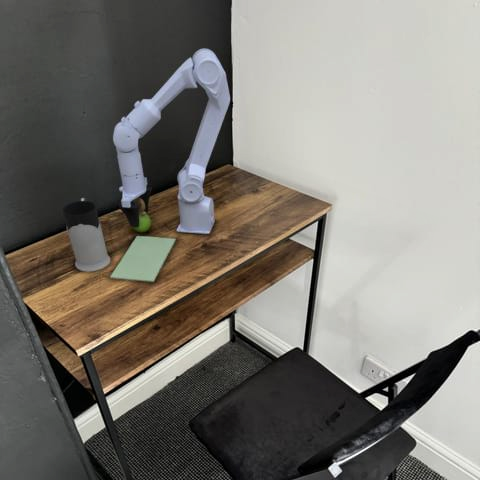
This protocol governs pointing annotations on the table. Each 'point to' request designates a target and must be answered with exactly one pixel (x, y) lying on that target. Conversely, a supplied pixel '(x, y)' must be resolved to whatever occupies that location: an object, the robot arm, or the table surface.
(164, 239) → the desk pad
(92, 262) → the glass holder
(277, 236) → the table surface
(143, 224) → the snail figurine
